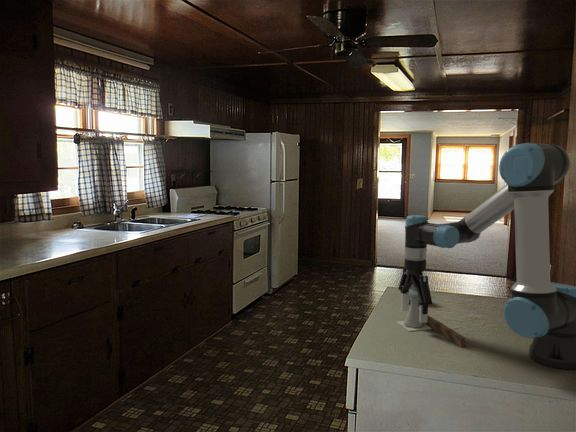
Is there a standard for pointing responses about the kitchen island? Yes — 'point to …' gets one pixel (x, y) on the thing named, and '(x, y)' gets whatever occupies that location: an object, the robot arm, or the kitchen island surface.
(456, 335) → the rail
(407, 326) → the board
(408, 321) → the flask
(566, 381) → the kitchen island surface
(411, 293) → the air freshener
